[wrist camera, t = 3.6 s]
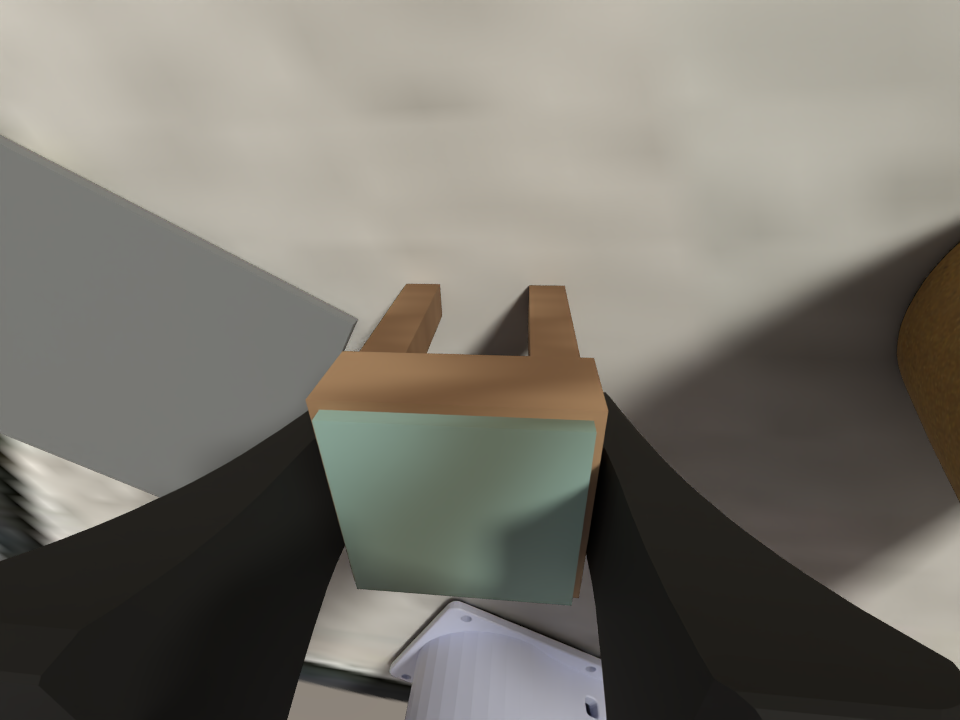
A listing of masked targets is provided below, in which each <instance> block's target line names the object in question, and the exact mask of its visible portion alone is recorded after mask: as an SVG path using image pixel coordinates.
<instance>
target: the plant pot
mask: <svg viewBox="0 0 960 720" xmlns="http://www.w3.org/2000/svg"><path fill="white" fill-rule="evenodd" d="M897 360H898V366H899V369H900V373H901V376H902V379H903V381H904V384H905V386H906V389H907V391H908V393H909V396H910V398H911V400H912V403H913V405H914V407H915V409H916V412H917V414H918V416H919V418H920V421H921V423H922V425H923V427H924V430H925V432H926V434H927V437H928V439H929V441H930V443H931V445H932V447H933V449H934V451H935V453H936V455H937V457H938V459H939V462H940V464H941V466H942V468H943V470H944V472H945V474H946V476H947V478H948V480H949V482H950V484H951V486H952V488H953V490H954V492H955V494H956V496H957V498H958V500H959V502H960V243H958V244H957V245H956V246H955V247H954V248H953V249H952V250H951V251H950V252H949V253H948V254H947V255H946V256H945V257H944V258H943V259H942V260H941V261H940V262H939V264H938V265H937V266H936V267H935V268H934V269H933V271H932V272H931V273H930V274H929V276H928V277H927V278H926V279H925V281H924V282H923V284H922V285H921V287H920V289H919V290H918V292H917V293H916V295H915V297H914V298H913V300H912V302H911V304H910V306H909V307H908V309H907V312H906V314H905V316H904V319H903V321H902V324H901V327H900V331H899V337H898V344H897Z"/></svg>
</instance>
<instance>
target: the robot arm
mask: <svg viewBox="0 0 960 720" xmlns="http://www.w3.org/2000/svg"><path fill="white" fill-rule="evenodd" d="M603 394H604V397H605V401H606V405H607V408H608V416H607V423H606V429H605V435H604V442H603V448H602V454H601V461H600V467H599V473H598V480H597V486H596V492H595V499H594V505H593V511H592V518H591V524H590V530H589V537H588V543H587V549H586V555H587V560H588V565H589V570H590V575H591V580H592V586H593V592H594V599H595V605H596V614H597V624H598V634H599V644H600V653H601V659H599V658H597V657H594V656H592V655H590V654H587V653H585V652H582V651H580V650H577V649H575V648H573V647H570V646H568V645H565V644H563V643H560V642H558V641H556V640H553V639H551V638H548V637H546V636H543V635H541V634H539V633H536V632H534V631H531V630H529V629H526V628H524V627H522V626H519V625H517V624H514V623H512V622H509V621H507V620H505V619H502V618H500V617H497V616H495V615H492V614H490V613H488V612H485V611H483V610H480V609H478V608H475V607H473V606H471V605H468V604H466V603H463V602H460V601H453V602H450V603H449V604H448V605H447V606H446V607H445V608H444V609H443V610H442V611H441V612H440V613H439V614H438V615H437V616H436V617H435V618H434V619H433V620H432V622H431V623H430V624H429V625H428V626H427V627H426V628H425V629H424V630H423V631H422V632H421V633H420V634H419V635H418V636H417V637H416V638H415V639H414V640H413V641H412V643H411V644H410V645H409V646H408V647H407V648H406V649H405V650H404V651H403V652H402V653H401V654H400V655H399V656H398V657H397V658H396V659H395V660H394V661H393V662H392V663H391V666H390V670H389V672H390V674H391V675H392V676H394V677H396V678H399V679H402V680H404V681H407V682H410V683H412V687H411V692H410V697H409V702H408V707H407V712H406V717H405V720H960V670H959V669H958V668H957V667H956V665H955V664H954V663H953V662H952V661H950V660H949V659H947V658H945V657H943V656H942V655H940V654H938V653H936V652H935V651H933V650H931V649H929V648H928V647H926V646H924V645H922V644H921V643H919V642H917V641H915V640H914V639H912V638H910V637H909V636H907V635H905V634H903V633H902V632H900V631H898V630H896V629H895V628H893V627H891V626H889V625H888V624H886V623H884V622H882V621H881V620H879V619H877V618H875V617H874V616H872V615H870V614H869V613H867V612H865V611H863V610H862V609H860V608H858V607H857V606H855V605H853V604H852V603H850V602H849V601H847V600H845V599H844V598H842V597H841V596H839V595H838V594H836V593H834V592H833V591H831V590H830V589H828V588H827V587H825V586H823V585H822V584H820V583H819V582H817V581H816V580H814V579H813V578H811V577H809V576H808V575H806V574H805V573H803V572H802V571H800V570H799V569H797V568H796V567H795V566H793V565H792V564H790V563H789V562H787V561H786V560H784V559H783V558H781V557H780V556H778V555H777V554H776V553H774V552H773V551H772V550H770V549H769V548H767V547H766V546H765V545H763V544H762V543H761V542H759V541H758V540H756V539H755V538H754V537H752V536H751V535H750V534H748V533H747V532H746V531H744V530H743V529H742V528H740V527H739V526H738V525H736V524H735V523H734V522H733V521H731V520H730V519H729V518H728V517H726V516H725V515H724V514H723V513H721V512H720V511H719V510H718V509H717V508H716V507H714V506H713V505H712V504H711V503H710V502H708V501H707V500H706V499H705V498H704V497H702V496H701V495H700V494H699V493H698V492H697V491H696V490H694V489H693V488H692V487H691V486H690V485H689V484H688V483H687V482H686V481H685V480H684V479H683V478H681V477H680V476H679V475H678V474H677V473H676V472H675V471H674V470H673V469H672V468H671V467H670V466H669V465H668V464H667V463H666V462H665V461H664V460H663V459H662V457H661V456H660V455H659V454H658V453H657V452H656V451H655V450H654V449H653V448H652V447H651V446H650V444H649V443H648V442H647V441H646V440H645V439H644V438H643V437H642V436H641V434H640V433H639V432H638V431H637V430H636V429H635V427H634V426H633V425H632V424H631V423H630V421H629V420H628V419H627V418H626V417H625V415H624V414H623V413H622V412H621V410H620V409H619V408H618V407H617V405H616V404H615V403H614V402H613V400H612V399H611V398H610V397H609V396H608V395H607V394H606V392H603ZM344 546H345V544H344V540H343V536H342V533H341V529H340V525H339V521H338V518H337V514H336V510H335V507H334V503H333V499H332V496H331V492H330V488H329V485H328V481H327V477H326V474H325V470H324V466H323V462H322V459H321V455H320V451H319V448H318V444H317V440H316V437H315V433H314V429H313V426H312V422H311V418H310V415H309V411H306V412H305V413H304V414H302V415H301V416H299V417H298V418H296V419H295V420H294V421H292V422H291V423H289V424H288V425H286V426H285V427H283V428H282V429H281V430H279V431H277V432H276V433H274V434H273V435H271V436H270V437H268V438H267V439H265V440H263V441H262V442H260V443H259V444H257V445H256V446H254V447H253V448H251V449H249V450H248V451H246V452H245V453H243V454H242V455H240V456H238V457H237V458H235V459H233V460H231V461H230V462H228V463H226V464H225V465H223V466H221V467H219V468H217V469H216V470H214V471H212V472H210V473H208V474H206V475H204V476H203V477H201V478H199V479H197V480H195V481H193V482H191V483H189V484H187V485H185V486H184V487H181V488H179V489H177V490H175V491H173V492H171V493H169V494H167V495H164V496H162V497H160V498H158V499H156V500H154V501H152V502H150V503H147V504H145V505H143V506H141V507H139V508H137V509H135V510H133V511H130V512H128V513H126V514H123V515H121V516H119V517H116V518H114V519H111V520H109V521H107V522H104V523H102V524H100V525H97V526H95V527H92V528H90V529H87V530H85V531H82V532H79V533H77V534H74V535H72V536H69V537H67V538H64V539H62V540H59V541H56V542H54V543H51V544H48V545H45V546H43V547H40V548H37V549H34V550H32V551H29V552H26V553H23V554H20V555H17V556H14V557H11V558H8V559H5V560H2V561H0V720H287V718H288V715H289V711H290V708H291V704H292V700H293V697H294V693H295V689H296V686H297V683H298V679H299V676H300V672H301V669H302V666H303V662H304V659H305V656H306V653H307V649H308V646H309V643H310V640H311V636H312V633H313V630H314V627H315V624H316V620H317V617H318V614H319V611H320V608H321V605H322V602H323V599H324V596H325V593H326V590H327V587H328V584H329V582H330V579H331V577H332V574H333V572H334V569H335V566H336V564H337V562H338V560H339V557H340V555H341V553H342V550H343V548H344Z"/></svg>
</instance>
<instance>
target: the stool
mask: <svg viewBox="0 0 960 720" xmlns="http://www.w3.org/2000/svg"><path fill="white" fill-rule="evenodd" d="M441 317H442V307H441V293H440V284H406V285H405V287H404V288H403V290H402V291H401V292H400V294H399V295H398V297H397V298H396V300H395V301H394V302H393V304H392V305H391V307H390V308H389V310H388V311H387V313H386V314H385V315H384V317H383V318H382V320H381V321H380V323H379V324H378V326H377V327H376V328H375V330H374V331H373V333H372V334H371V336H370V337H369V339H368V340H367V341H366V343H365V344H364V346H363V347H362V349H361V350H360V352H353V351H342V352H341V354H340V355H339V356H338V358H337V359H336V360H335V362H334V363H333V364H332V366H331V367H330V368H329V369H328V371H327V372H326V373H325V375H324V376H323V377H322V379H321V380H320V381H319V383H318V384H317V385H316V386H315V388H314V389H313V390H312V392H311V393H310V394H309V396H308V397H307V398H306V403H307V407H308V411H309V415H310V418H311V422H312V426H313V429H314V433H315V437H316V440H317V444H318V448H319V451H320V455H321V459H322V462H323V466H324V470H325V474H326V477H327V481H328V485H329V488H330V492H331V496H332V499H333V503H334V507H335V510H336V514H337V518H338V521H339V525H340V529H341V533H342V536H343V540H344V544H345V547H346V551H347V555H348V558H349V562H350V566H351V569H352V573H353V577H354V581H355V582H356V586H357V589H367V590H379V591H392V592H405V593H418V594H430V595H443V596H456V597H468V598H481V599H494V600H507V601H519V602H532V603H545V604H557V605H570V606H571V605H572V599H573V598H579V594H580V587H581V581H582V575H583V568H584V562H585V556H586V549H587V543H588V537H589V530H590V524H591V518H592V511H593V505H594V499H595V492H596V486H597V480H598V473H599V467H600V461H601V454H602V448H603V442H604V435H605V429H606V423H607V416H608V408H607V405H606V401H605V397H604V394H603V390H602V386H601V383H600V379H599V375H598V372H597V368H596V364H595V361H594V358H580V354H579V350H578V345H577V340H576V336H575V331H574V327H573V322H572V317H571V313H570V308H569V304H568V299H567V295H566V290H565V286H534V285H529V307H528V356H500V355H463V354H427V351H428V349H429V346H430V344H431V341H432V339H433V337H434V334H435V332H436V329H437V327H438V324H439V322H440V320H441Z"/></svg>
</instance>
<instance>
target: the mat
mask: <svg viewBox="0 0 960 720" xmlns="http://www.w3.org/2000/svg"><path fill="white" fill-rule="evenodd" d="M357 320H358V319H357V318H355V317H353V316H351V315H349V314H347V313H345V312H343V311H341V310H340V309H338V308H336V307H334V306H332V305H330V304H328V303H326V302H324V301H322V300H320V299H318V298H316V297H314V296H312V295H310V294H308V293H307V292H305V291H303V290H301V289H299V288H297V287H295V286H293V285H291V284H289V283H287V282H285V281H283V280H281V279H279V278H277V277H275V276H273V275H272V274H270V273H268V272H266V271H264V270H262V269H260V268H258V267H256V266H254V265H252V264H250V263H248V262H246V261H244V260H242V259H240V258H239V257H237V256H235V255H233V254H231V253H229V252H227V251H225V250H223V249H221V248H219V247H217V246H215V245H213V244H211V243H209V242H207V241H205V240H204V239H202V238H200V237H198V236H196V235H194V234H192V233H190V232H188V231H186V230H184V229H182V228H180V227H178V226H176V225H174V224H172V223H171V222H169V221H167V220H165V219H163V218H161V217H159V216H157V215H155V214H153V213H151V212H149V211H147V210H145V209H143V208H141V207H139V206H137V205H136V204H134V203H132V202H130V201H128V200H126V199H124V198H122V197H120V196H118V195H116V194H114V193H112V192H110V191H108V190H106V189H104V188H103V187H101V186H99V185H97V184H95V183H93V182H91V181H89V180H87V179H85V178H83V177H81V176H79V175H77V174H75V173H73V172H71V171H70V170H68V169H66V168H64V167H62V166H60V165H58V164H56V163H54V162H52V161H50V160H48V159H46V158H44V157H42V156H40V155H38V154H36V153H35V152H33V151H31V150H29V149H27V148H25V147H23V146H21V145H19V144H17V143H15V142H13V141H11V140H9V139H7V138H5V137H3V136H2V135H0V433H1V434H4V435H6V436H9V437H11V438H14V439H16V440H19V441H21V442H24V443H26V444H29V445H31V446H34V447H36V448H39V449H41V450H43V451H46V452H48V453H51V454H53V455H56V456H58V457H61V458H63V459H66V460H68V461H71V462H73V463H76V464H78V465H81V466H83V467H86V468H88V469H91V470H93V471H95V472H98V473H100V474H103V475H105V476H108V477H110V478H113V479H115V480H118V481H120V482H123V483H125V484H128V485H130V486H133V487H135V488H138V489H140V490H143V491H145V492H147V493H150V494H152V495H155V496H157V497H162V496H164V495H167V494H169V493H171V492H173V491H175V490H177V489H179V488H181V487H184V486H185V485H187V484H189V483H191V482H193V481H195V480H197V479H199V478H201V477H203V476H204V475H206V474H208V473H210V472H212V471H214V470H216V469H217V468H219V467H221V466H223V465H225V464H226V463H228V462H230V461H231V460H233V459H235V458H237V457H238V456H240V455H242V454H243V453H245V452H246V451H248V450H249V449H251V448H253V447H254V446H256V445H257V444H259V443H260V442H262V441H263V440H265V439H267V438H268V437H270V436H271V435H273V434H274V433H276V432H277V431H279V430H281V429H282V428H283V427H285V426H286V425H288V424H289V423H291V422H292V421H294V420H295V419H296V418H298V417H299V416H301V415H302V414H304V413H305V412H306V411H308V407H307V403H306V398H307V397H308V396H309V394H310V393H311V392H312V390H313V389H314V388H315V386H316V385H317V384H318V383H319V381H320V380H321V379H322V377H323V376H324V375H325V373H326V372H327V371H328V369H329V368H330V367H331V366H332V364H333V363H334V362H335V360H336V359H337V358H338V356H339V355H340V354H341V352H342V351H344V350H345V348H346V345H347V343H348V341H349V339H350V336H351V334H352V332H353V329H354V327H355V325H356V323H357Z"/></svg>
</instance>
